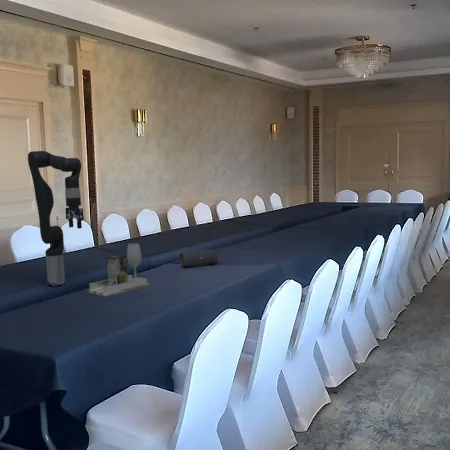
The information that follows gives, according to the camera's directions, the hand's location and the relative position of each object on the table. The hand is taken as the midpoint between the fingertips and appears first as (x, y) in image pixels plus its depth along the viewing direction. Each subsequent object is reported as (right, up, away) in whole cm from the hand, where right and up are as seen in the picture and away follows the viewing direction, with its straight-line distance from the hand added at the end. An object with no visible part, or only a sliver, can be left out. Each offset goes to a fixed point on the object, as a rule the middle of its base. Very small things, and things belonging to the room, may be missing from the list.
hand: (75, 227), depth 290 cm
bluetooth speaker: (+62, -25, +61) cm, 90 cm away
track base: (+21, -33, +7) cm, 40 cm away
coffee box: (+21, -31, +6) cm, 38 cm away
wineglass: (+27, -30, +26) cm, 48 cm away
